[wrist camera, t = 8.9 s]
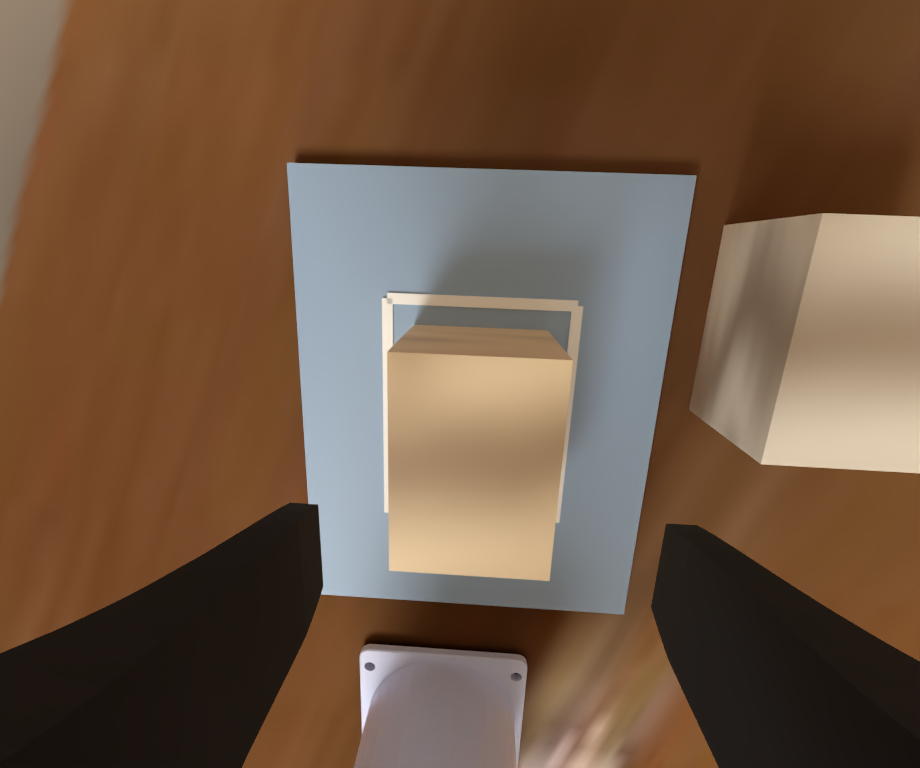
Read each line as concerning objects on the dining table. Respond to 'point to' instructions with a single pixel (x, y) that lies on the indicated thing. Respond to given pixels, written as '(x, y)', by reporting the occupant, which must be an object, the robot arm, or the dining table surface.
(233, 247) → the dining table surface
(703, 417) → the birch brick
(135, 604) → the robot arm
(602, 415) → the board
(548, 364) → the maple brick
